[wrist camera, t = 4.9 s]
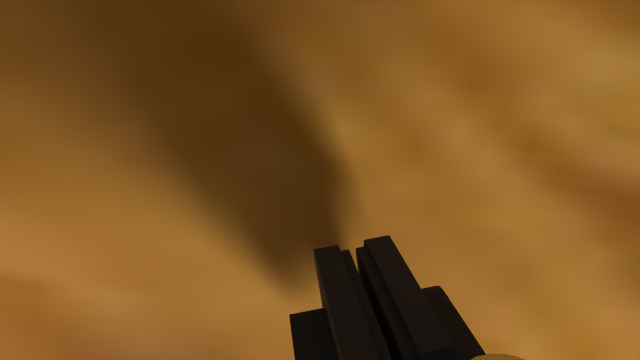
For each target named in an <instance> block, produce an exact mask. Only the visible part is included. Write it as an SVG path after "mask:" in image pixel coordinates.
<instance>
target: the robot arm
mask: <svg viewBox="0 0 640 360" xmlns="http://www.w3.org/2000/svg"><path fill="white" fill-rule="evenodd" d="M356 256H357V264H358V271H359V273H358V271H357V268H356V266H355V263H354V261H353V258H352V256H351V253H350V251H349V250H343V251H340V248H339V246H338V245H334V246H329V247H324V248H318V249H314V257H315V263H316V269H317V276H318V282H319V288H320V294H321V300H322V306H323V308H321V309H316V310H311V311H305V312H300V313H295V314H290V324H291V332H292V339H293V347H294V355H295V360H524V359H522V358H519V357H516V356H511V355H506V354H485V352H484V351H483V349H482V348H481V346H480V345H479V343H478V342H477V340H476V339H475V337H474V336H473V334H472V333H471V331H470V330H469V328H468V327H467V325H466V324H465V322H464V321H463V319H462V318H461V316H460V315H459V313H458V312H457V310H456V309H455V307H454V306H453V304H452V303H451V301H450V300H449V298H448V297H447V295H446V294H445V292H444V291H443V289H442V288H441V287H440V286H433V287H428V288H423V289H421V288H420V286H419V285H418V283H417V281H416V280H415V278H414V276H413V274H412V273H411V271H410V269H409V268H408V266H407V264H406V263H405V261H404V259H403V258H402V256H401V254H400V253H399V251H398V249H397V247H396V246H395V244H394V242H393V241H392V239H391V237H390V236H389V235H388V236H382V237H377V238H372V239H366V240H364V247H359V248H356Z"/></svg>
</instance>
